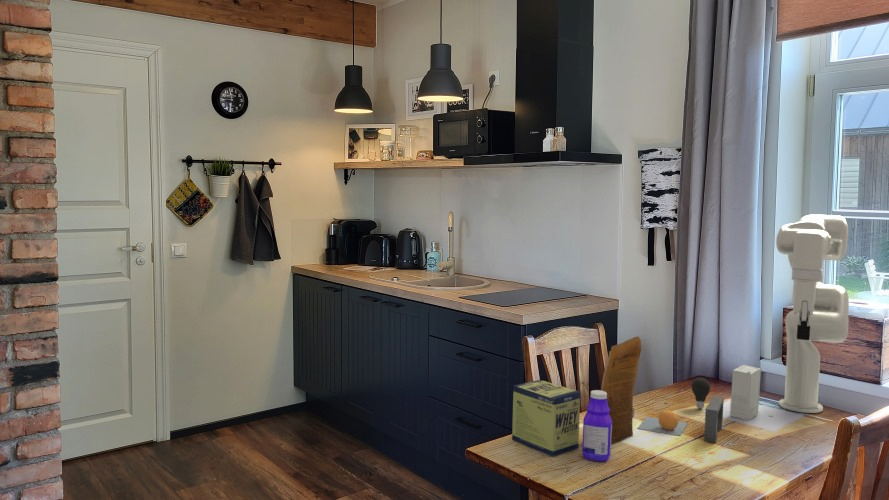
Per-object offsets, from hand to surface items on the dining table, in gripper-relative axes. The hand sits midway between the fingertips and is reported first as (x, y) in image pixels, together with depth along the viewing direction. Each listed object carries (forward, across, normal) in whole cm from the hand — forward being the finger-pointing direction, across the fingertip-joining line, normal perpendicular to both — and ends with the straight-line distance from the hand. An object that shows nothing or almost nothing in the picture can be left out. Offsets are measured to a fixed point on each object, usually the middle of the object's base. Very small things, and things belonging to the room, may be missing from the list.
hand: (803, 339), depth 200 cm
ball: (+24, +17, -33) cm, 44 cm away
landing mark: (+27, +15, -35) cm, 47 cm away
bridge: (+27, +15, -21) cm, 37 cm away
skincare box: (+27, -8, -15) cm, 32 cm away
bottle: (+27, +49, -45) cm, 72 cm away
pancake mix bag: (+27, +32, -44) cm, 61 cm away
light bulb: (+27, -8, -28) cm, 40 cm away
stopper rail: (+27, +15, -46) cm, 55 cm away
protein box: (+27, +46, -60) cm, 80 cm away
